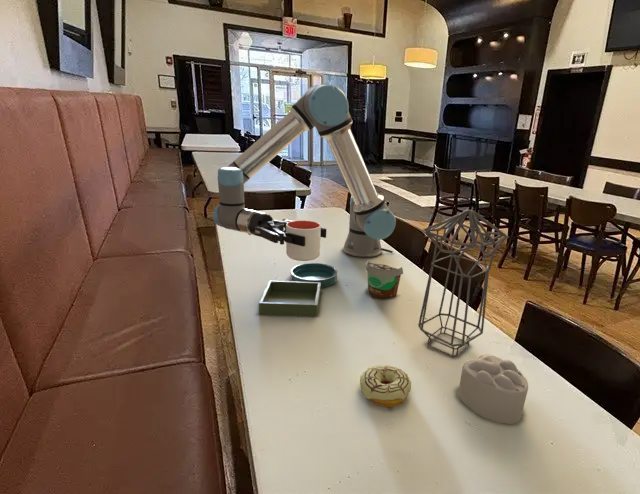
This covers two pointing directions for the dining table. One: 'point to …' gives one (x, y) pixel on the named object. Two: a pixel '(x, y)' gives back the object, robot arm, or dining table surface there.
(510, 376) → the lumpy-topped squat cylinder
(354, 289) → the dining table surface
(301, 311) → the tray
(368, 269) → the food container
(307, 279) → the dish
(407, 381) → the decorated donut
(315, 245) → the cup
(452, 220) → the geometric lantern
